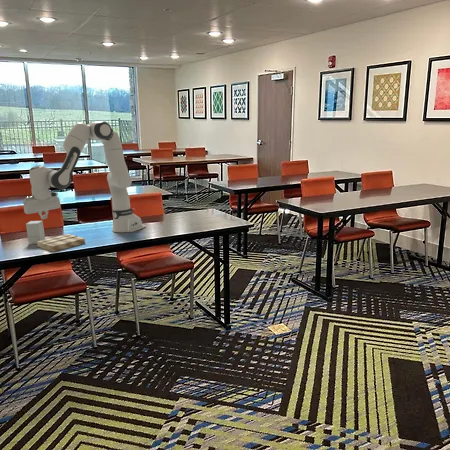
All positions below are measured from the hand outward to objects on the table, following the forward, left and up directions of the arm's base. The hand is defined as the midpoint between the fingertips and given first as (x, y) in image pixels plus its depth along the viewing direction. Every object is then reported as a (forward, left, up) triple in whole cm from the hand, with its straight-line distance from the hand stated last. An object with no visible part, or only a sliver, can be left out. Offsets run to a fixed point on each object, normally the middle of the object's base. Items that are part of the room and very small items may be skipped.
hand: (44, 218), depth 238 cm
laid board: (-6, +9, -16) cm, 20 cm away
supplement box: (-1, -14, -17) cm, 21 cm away
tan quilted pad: (-6, +1, -16) cm, 17 cm away
